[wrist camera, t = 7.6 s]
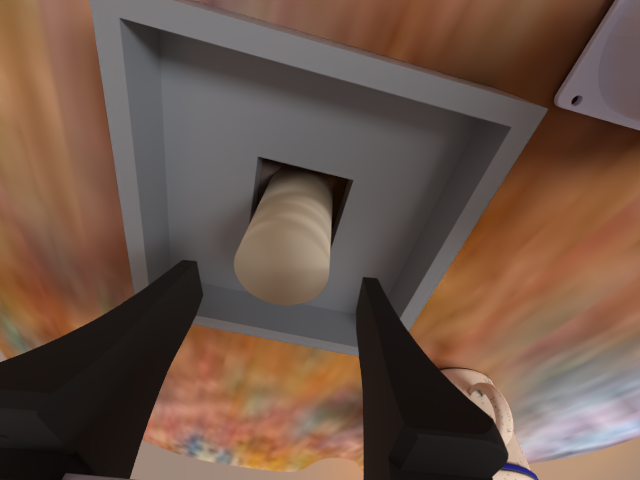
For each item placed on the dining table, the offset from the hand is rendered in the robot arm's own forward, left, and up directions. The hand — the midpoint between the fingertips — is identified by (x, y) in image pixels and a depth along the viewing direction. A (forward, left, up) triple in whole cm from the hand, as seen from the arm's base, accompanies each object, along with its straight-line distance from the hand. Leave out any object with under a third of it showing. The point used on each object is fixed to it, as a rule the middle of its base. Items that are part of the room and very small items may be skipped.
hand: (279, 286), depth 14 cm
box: (0, 0, -9) cm, 9 cm away
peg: (0, 0, -9) cm, 9 cm away
